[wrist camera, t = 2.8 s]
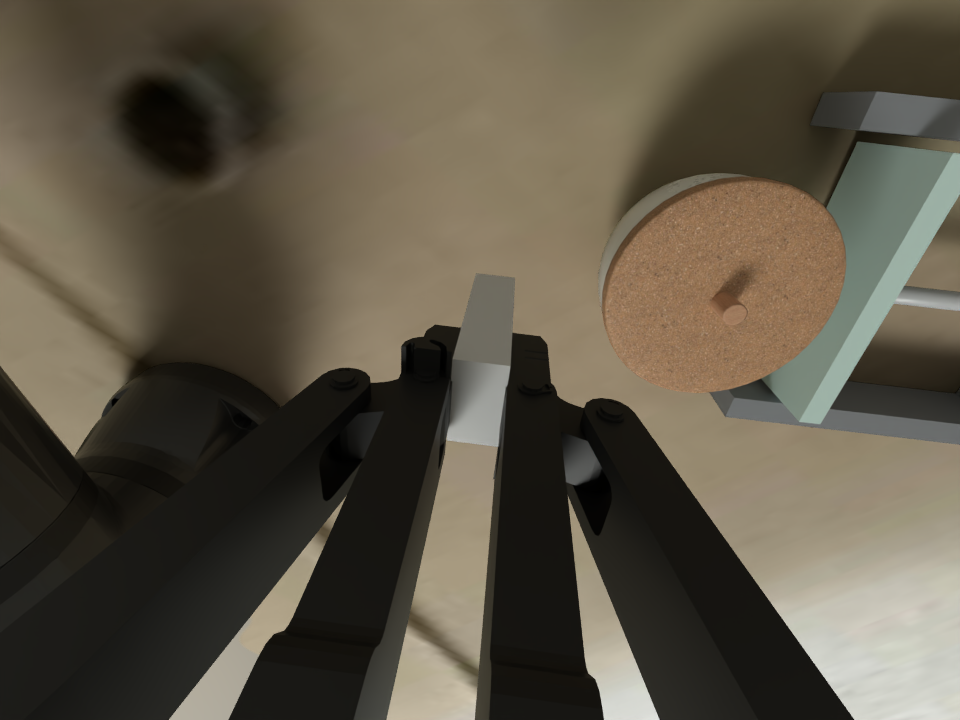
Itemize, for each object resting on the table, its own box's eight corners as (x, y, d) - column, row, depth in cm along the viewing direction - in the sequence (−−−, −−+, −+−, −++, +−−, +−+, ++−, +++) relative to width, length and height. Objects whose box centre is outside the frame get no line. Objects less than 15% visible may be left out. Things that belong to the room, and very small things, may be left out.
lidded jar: (565, 195, 27) (586, 237, 18) (761, 128, 24) (884, 143, 16) (603, 347, 31) (632, 433, 23) (769, 304, 29) (866, 383, 21)
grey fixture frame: (703, 382, 32) (745, 448, 26) (823, 92, 23) (931, 89, 17) (963, 413, 32) (1066, 486, 26) (1188, 131, 23) (1430, 142, 17)
